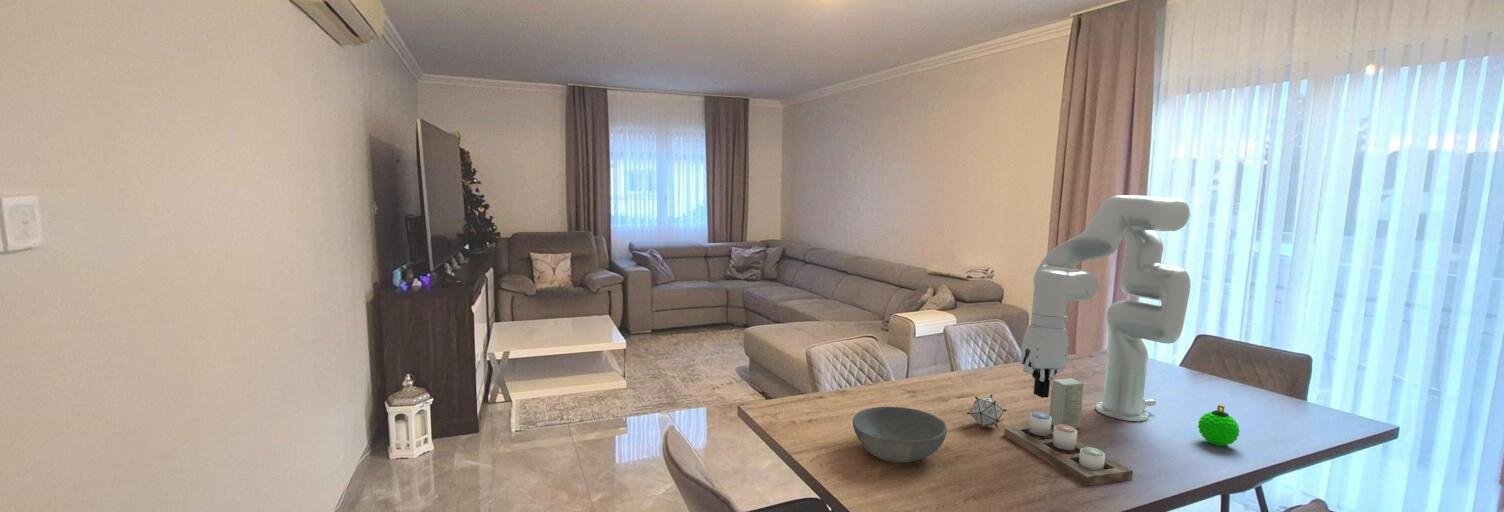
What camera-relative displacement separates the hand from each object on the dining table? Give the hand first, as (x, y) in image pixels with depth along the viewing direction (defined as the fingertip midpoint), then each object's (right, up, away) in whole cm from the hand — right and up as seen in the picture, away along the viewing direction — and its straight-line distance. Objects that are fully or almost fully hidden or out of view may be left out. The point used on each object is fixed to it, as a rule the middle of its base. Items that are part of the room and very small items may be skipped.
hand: (1040, 395), depth 147 cm
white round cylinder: (+4, -13, -14) cm, 19 cm away
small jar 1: (0, -9, +1) cm, 9 cm away
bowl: (-37, -12, -7) cm, 39 cm away
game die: (-9, -11, +10) cm, 18 cm away
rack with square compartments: (+2, -13, -6) cm, 14 cm away
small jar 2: (+2, -10, -6) cm, 12 cm away
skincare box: (+12, -11, +12) cm, 20 cm away
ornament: (+45, -13, +3) cm, 47 cm away
